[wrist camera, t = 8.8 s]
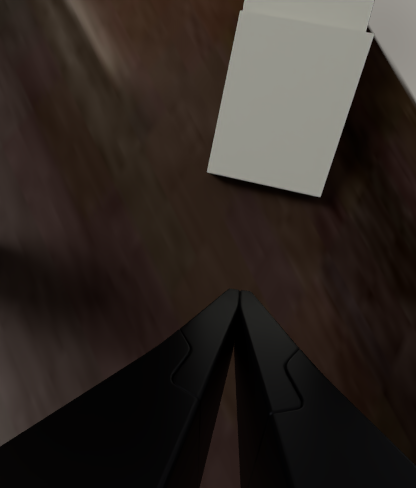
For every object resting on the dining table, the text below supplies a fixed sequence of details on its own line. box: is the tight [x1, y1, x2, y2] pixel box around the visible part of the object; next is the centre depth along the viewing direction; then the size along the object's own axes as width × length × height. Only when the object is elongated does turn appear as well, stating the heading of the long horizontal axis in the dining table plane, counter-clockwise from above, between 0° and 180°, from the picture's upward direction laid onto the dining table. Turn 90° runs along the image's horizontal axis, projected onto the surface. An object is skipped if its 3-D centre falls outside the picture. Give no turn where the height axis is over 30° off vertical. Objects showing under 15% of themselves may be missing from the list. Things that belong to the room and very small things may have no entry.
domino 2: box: [243, 0, 375, 32], centre depth 21 cm, size 2×10×12 cm
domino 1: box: [207, 11, 374, 197], centre depth 20 cm, size 2×10×12 cm
